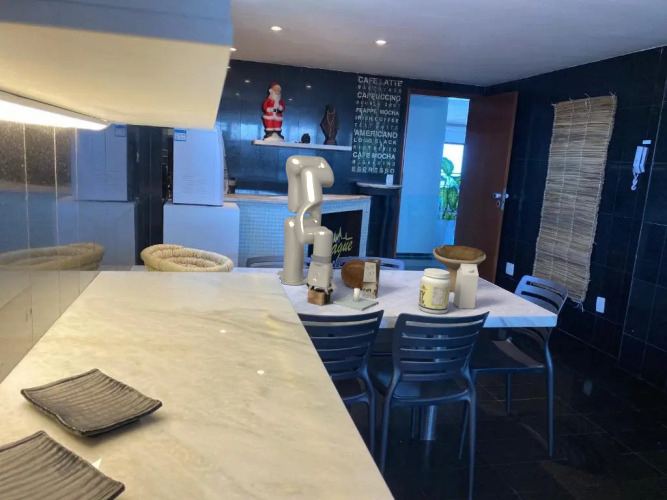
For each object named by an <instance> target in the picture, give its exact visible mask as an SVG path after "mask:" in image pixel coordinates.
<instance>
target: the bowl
mask: <svg viewBox="0 0 667 500" xmlns="http://www.w3.org/2000/svg"><path fill="white" fill-rule="evenodd" d="M432 253H433V256H434V258H435V260H436V261H437V262H438V263H440V264H441V265H443V266H444V267H445V268H446V271H448V272H449V273H450V274H449V275H450V277H449V279H450V281H451V286H450V293H455V286H456V277H457V270H458V269H459V267H460V266H461V264H477V267H478V266H479V265H481V263H483V261H485V260H486V258H487V256H486V253H485V251H483V250H481V249H479V248H477V247H472V246H468V245H467V246H466V245H456V244H443V245H441V246H440V245H439V246H437V247H434V249H433V250H432Z"/></svg>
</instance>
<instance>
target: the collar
mask: <svg viewBox="0 0 667 500" xmlns="http://www.w3.org/2000/svg"><path fill="white" fill-rule="evenodd" d="M325 294H326V292H325V289H324V288H320V287H315V288H314V289H312V290H307V303H309V304H313V305H317V306H319V307H322V306H325V305H327V304H330V303H331V302H332V293H331V294H330V302H329V303H326V304H325V303H324V299H325Z"/></svg>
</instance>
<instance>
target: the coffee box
mask: <svg viewBox="0 0 667 500" xmlns="http://www.w3.org/2000/svg"><path fill="white" fill-rule="evenodd" d="M381 261H382V259H379V258H366V260H365V261H364V262H365V269H364V280H363V290H361V291H362V292H361V293H362V294H361V297H362V298H366V299H373V300H375V299H376V298H377V296H378V295H379V286H380V276H381V275H380V273H381V272H380V271H381Z"/></svg>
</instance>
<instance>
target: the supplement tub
mask: <svg viewBox="0 0 667 500" xmlns="http://www.w3.org/2000/svg"><path fill="white" fill-rule="evenodd" d="M423 271H424V272H423V275H422V276H421V279H420V285H419V286H420V287H419V295H418V305H417V306H418V308H419V309H418V310H420V311H422V312H424V313H428V314H432V315H442V314H445V313H447V312H448V310H449V303H450V302H449V301H450V293H451V292H450V286H451V281H450V279H449V277H450V275H449V274H450V273H449V272H448V271H447V269H446V270H445V269H442V268H433V267H432V268H425V269H424V270H423Z"/></svg>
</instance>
